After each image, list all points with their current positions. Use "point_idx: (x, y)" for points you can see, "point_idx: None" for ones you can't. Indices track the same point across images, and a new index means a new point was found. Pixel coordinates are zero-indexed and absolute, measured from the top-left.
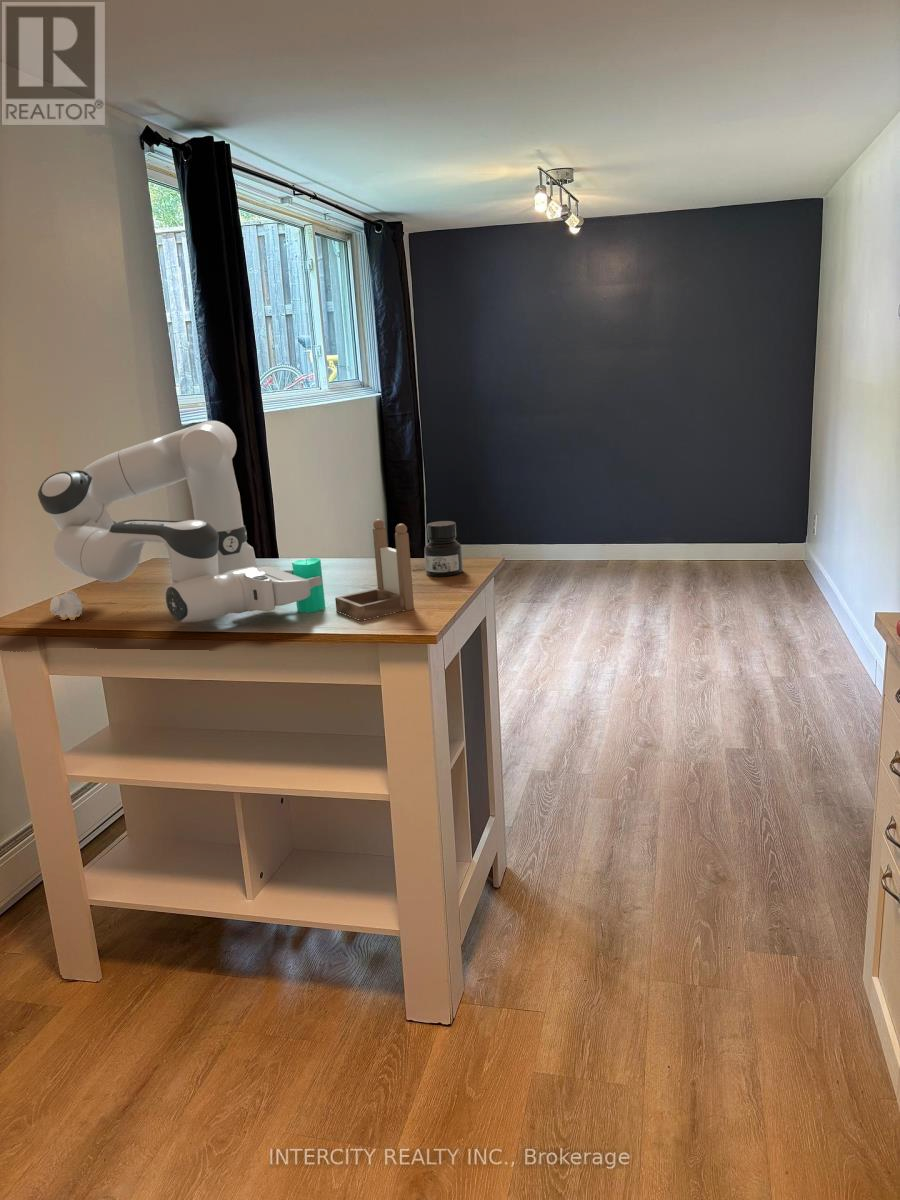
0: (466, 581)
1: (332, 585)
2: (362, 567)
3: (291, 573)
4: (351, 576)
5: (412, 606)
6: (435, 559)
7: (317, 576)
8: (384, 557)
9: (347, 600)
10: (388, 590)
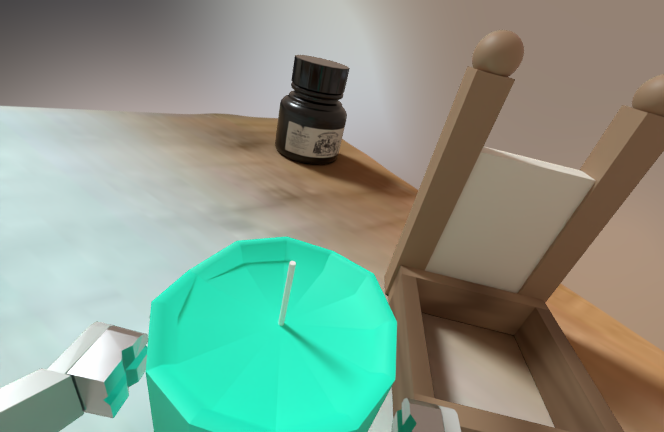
0: (382, 175)
1: (111, 227)
2: (105, 137)
3: (67, 396)
4: (121, 174)
5: None
6: (323, 134)
7: (438, 418)
8: (490, 185)
9: (503, 422)
10: (452, 274)
